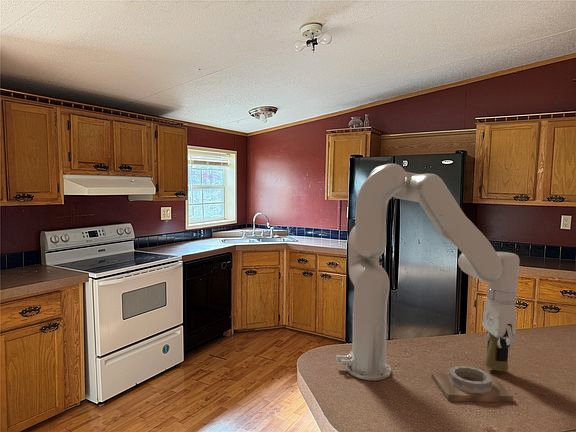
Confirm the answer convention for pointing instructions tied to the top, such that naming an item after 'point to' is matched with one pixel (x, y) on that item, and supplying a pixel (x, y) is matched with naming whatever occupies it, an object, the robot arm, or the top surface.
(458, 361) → the top surface
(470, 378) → the socket board
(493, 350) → the olive green peg
